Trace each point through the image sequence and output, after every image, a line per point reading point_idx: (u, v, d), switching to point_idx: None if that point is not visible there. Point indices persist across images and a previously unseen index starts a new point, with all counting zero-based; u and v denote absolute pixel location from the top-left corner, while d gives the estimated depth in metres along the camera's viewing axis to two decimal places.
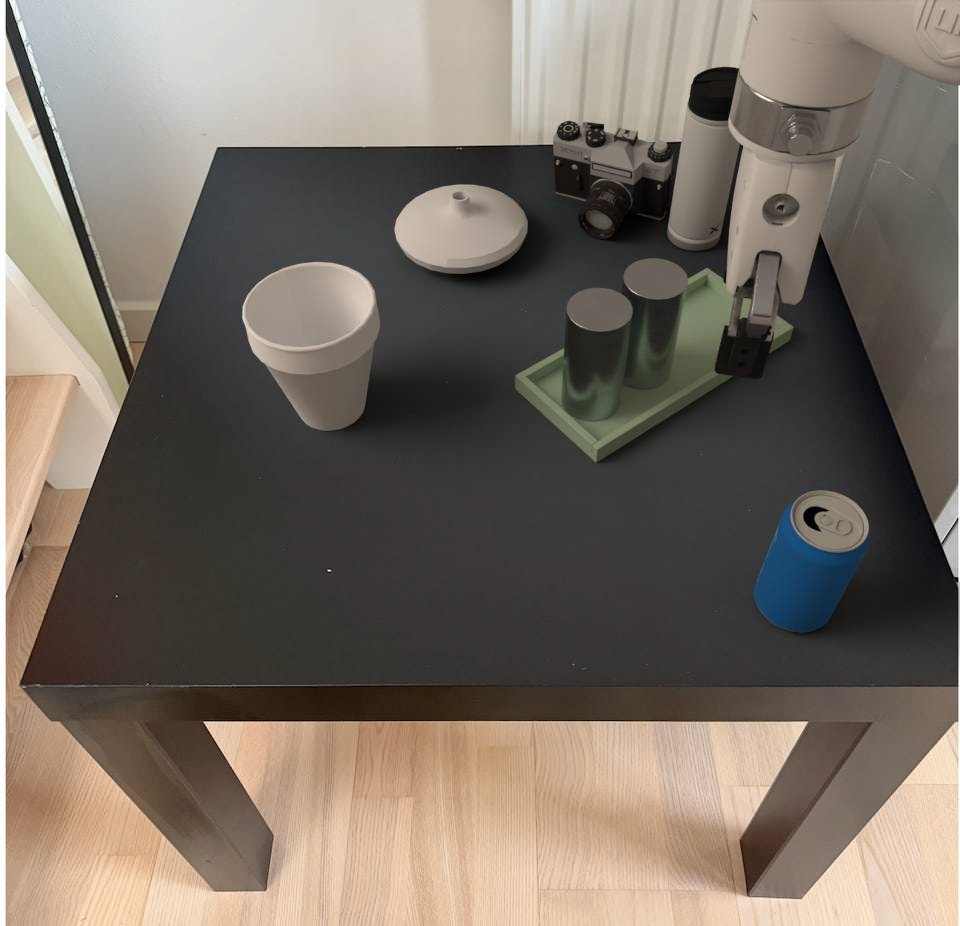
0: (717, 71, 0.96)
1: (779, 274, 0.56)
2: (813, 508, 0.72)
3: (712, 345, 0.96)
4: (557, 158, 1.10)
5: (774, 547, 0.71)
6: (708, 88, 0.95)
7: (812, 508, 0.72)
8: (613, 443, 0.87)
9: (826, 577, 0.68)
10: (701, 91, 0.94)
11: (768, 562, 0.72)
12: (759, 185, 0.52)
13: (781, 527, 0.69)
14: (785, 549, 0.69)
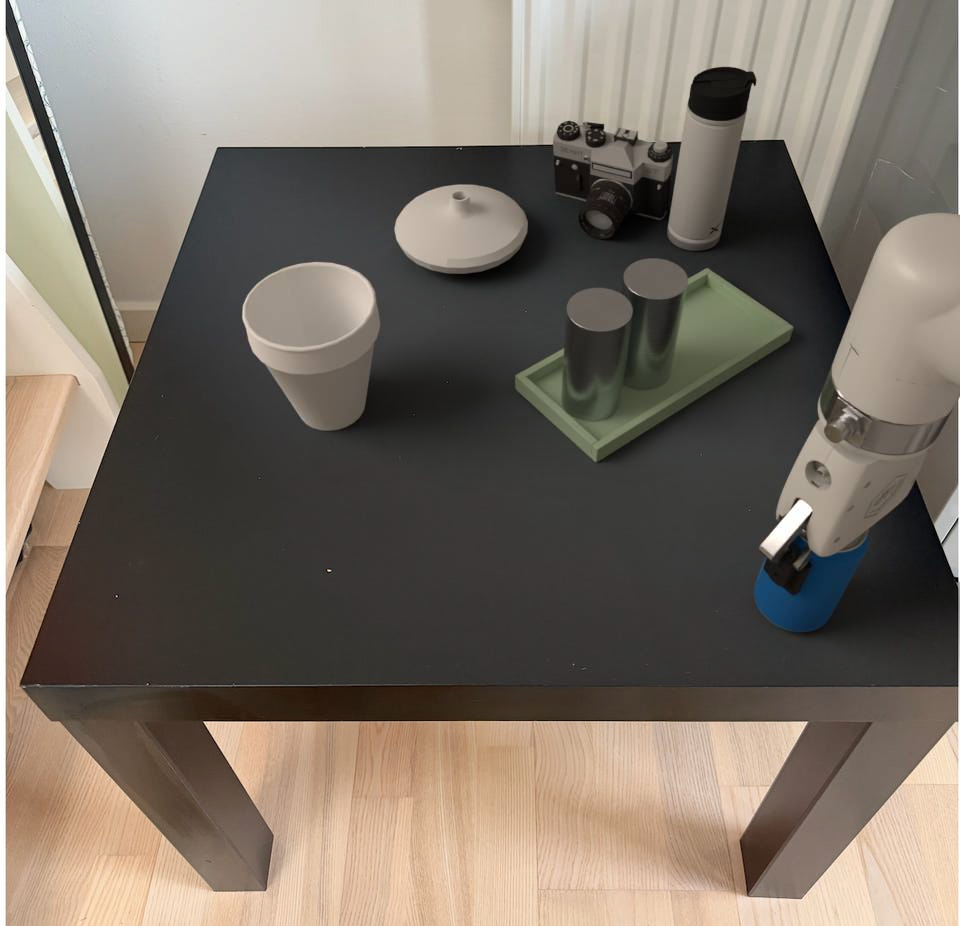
0: (716, 71, 0.96)
1: (808, 524, 0.62)
2: None
3: (712, 345, 0.96)
4: (557, 158, 1.10)
5: None
6: (708, 87, 0.95)
7: None
8: (613, 443, 0.87)
9: (826, 577, 0.68)
10: (701, 91, 0.94)
11: None
12: (809, 446, 0.59)
13: None
14: None
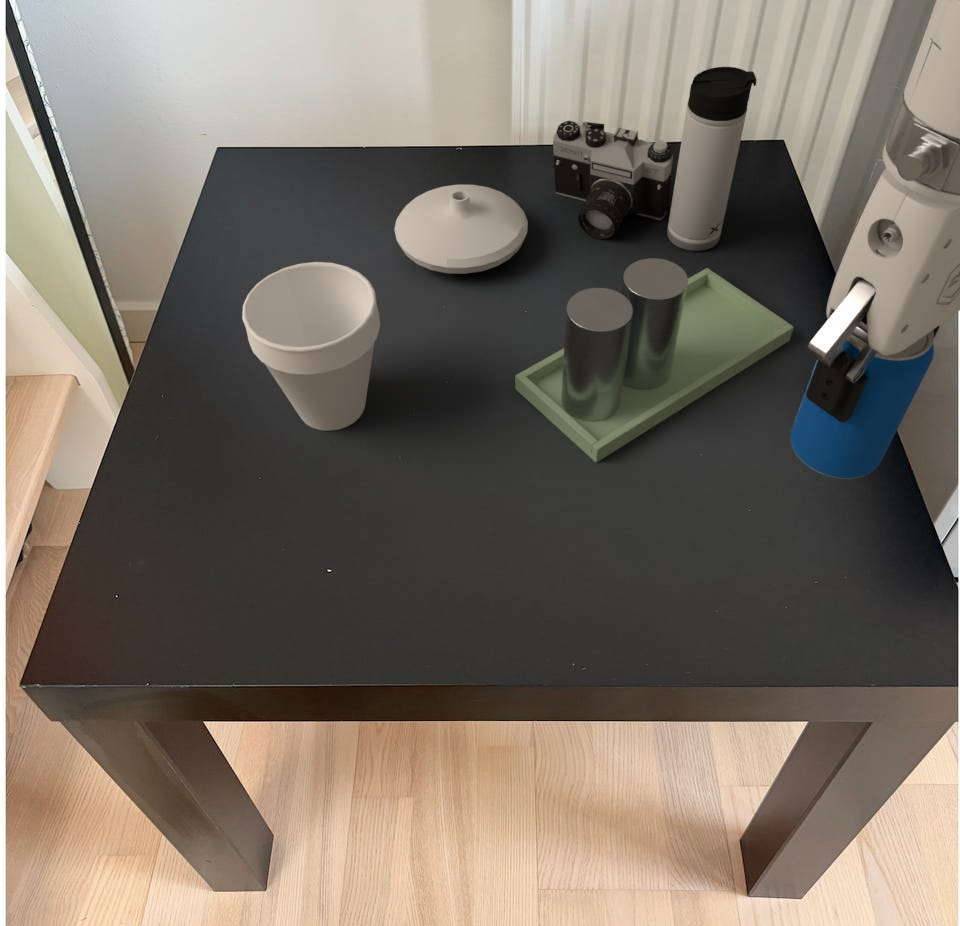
0: (716, 71, 0.96)
1: (870, 311, 0.51)
2: None
3: (712, 345, 0.96)
4: (557, 158, 1.10)
5: None
6: (708, 87, 0.95)
7: None
8: (613, 443, 0.87)
9: (883, 395, 0.57)
10: (701, 91, 0.94)
11: None
12: (873, 203, 0.48)
13: None
14: None
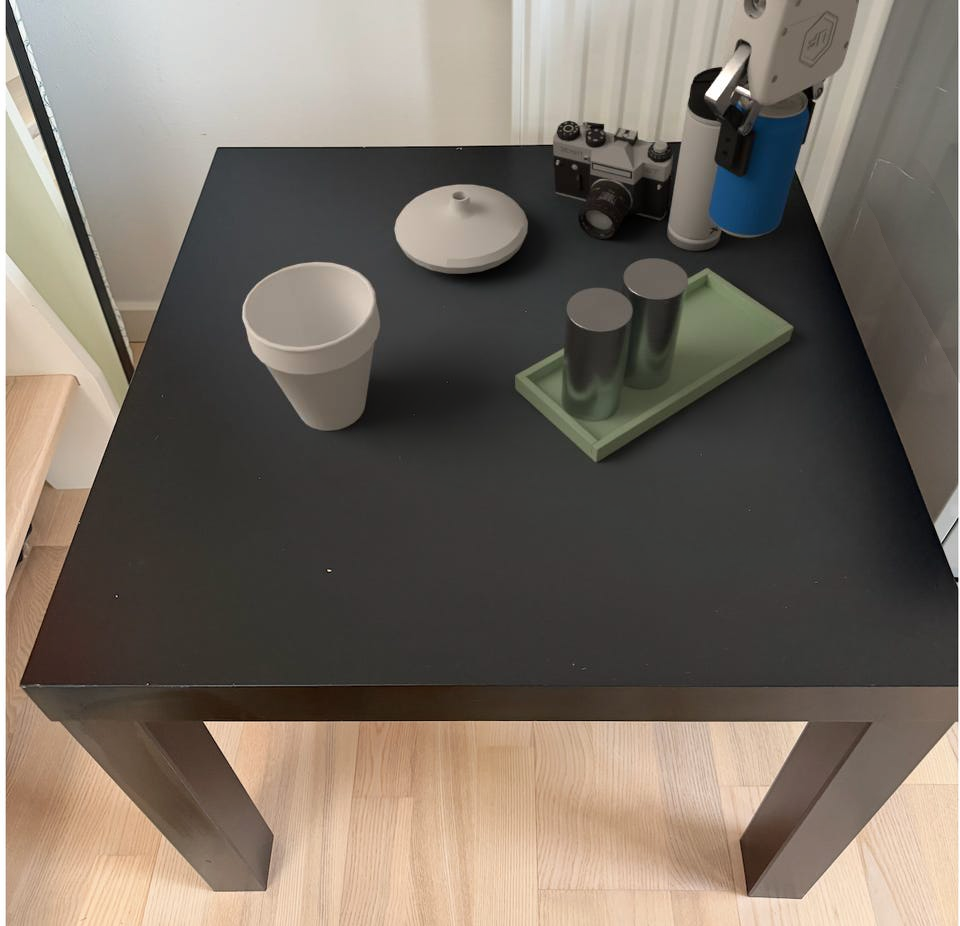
0: (716, 71, 0.96)
1: (748, 66, 0.68)
2: None
3: (712, 345, 0.96)
4: (557, 158, 1.10)
5: None
6: (708, 87, 0.95)
7: None
8: (613, 443, 0.87)
9: (769, 150, 0.74)
10: (701, 91, 0.94)
11: None
12: None
13: None
14: None
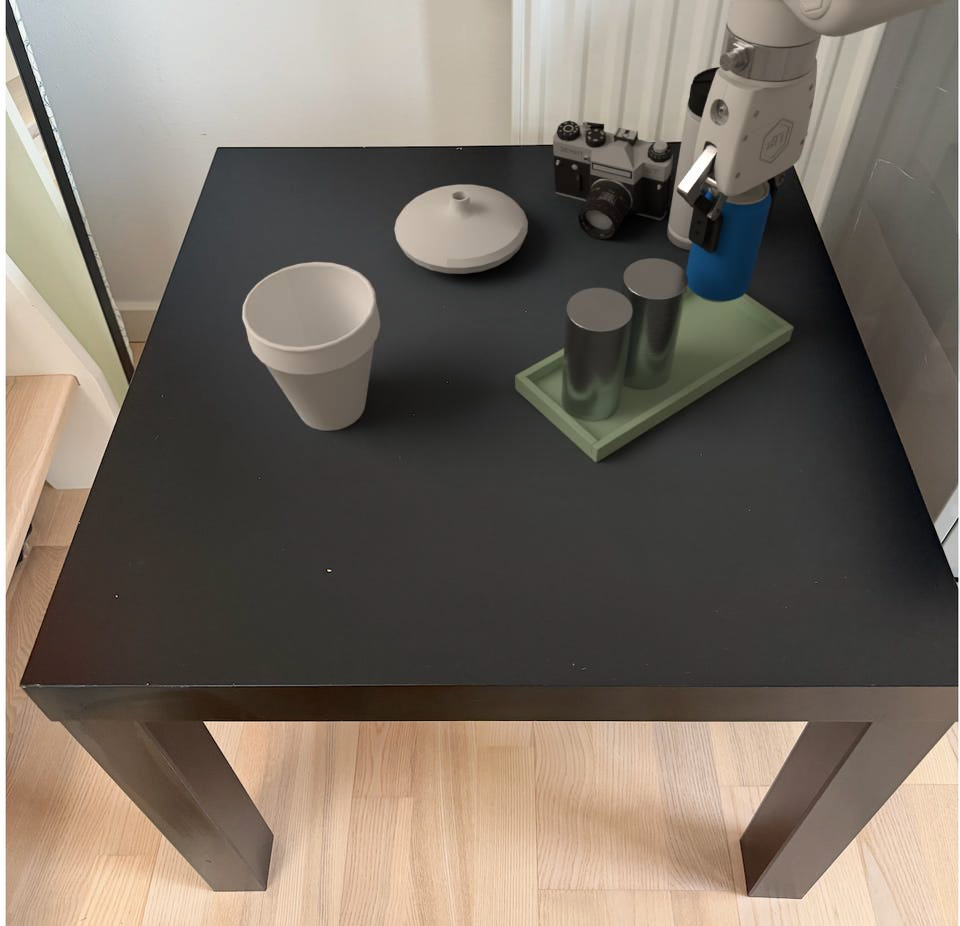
0: None
1: (715, 164, 0.78)
2: None
3: (712, 345, 0.96)
4: (557, 158, 1.10)
5: None
6: (708, 87, 0.95)
7: None
8: (613, 443, 0.87)
9: (736, 231, 0.84)
10: (701, 91, 0.94)
11: None
12: (712, 90, 0.75)
13: None
14: None
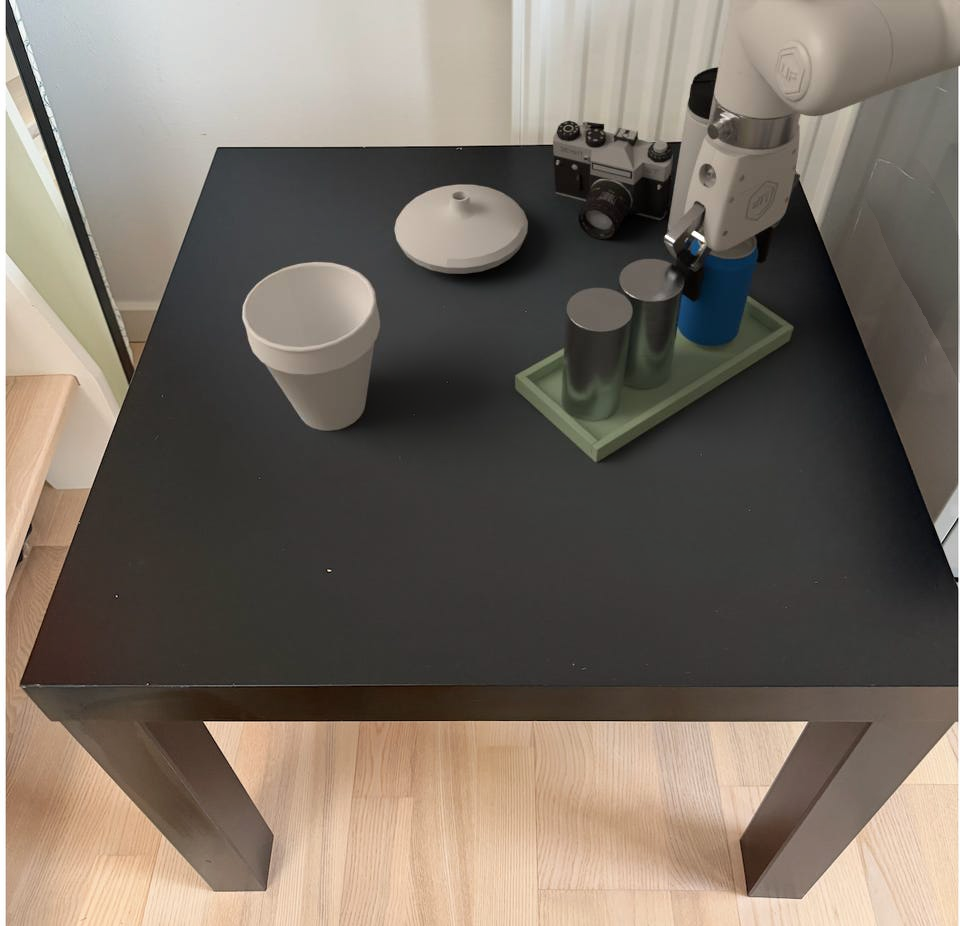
0: (716, 71, 0.96)
1: (704, 222, 0.83)
2: None
3: None
4: (557, 158, 1.10)
5: None
6: (708, 87, 0.95)
7: None
8: (613, 443, 0.87)
9: (724, 283, 0.89)
10: (701, 91, 0.94)
11: None
12: (700, 154, 0.80)
13: (691, 249, 0.90)
14: None
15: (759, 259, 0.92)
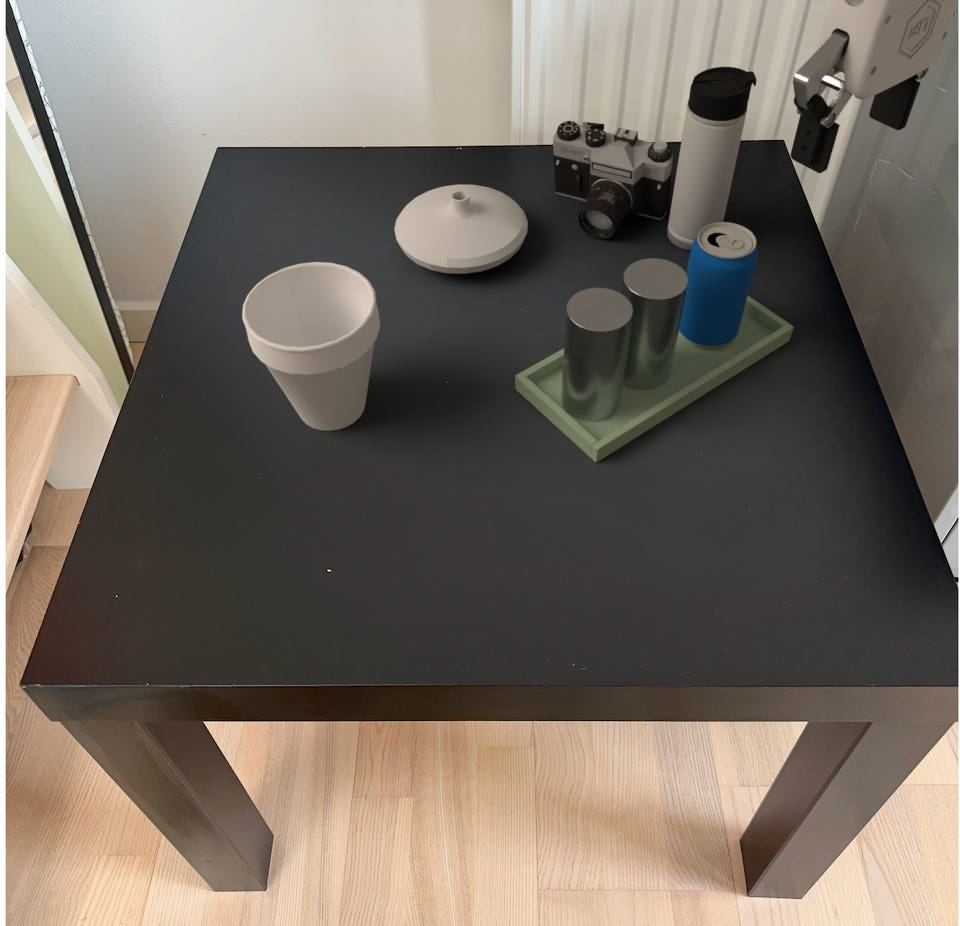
0: (716, 71, 0.96)
1: (845, 57, 0.64)
2: None
3: None
4: (557, 158, 1.10)
5: (687, 270, 0.92)
6: (708, 87, 0.95)
7: (718, 243, 0.93)
8: (613, 443, 0.87)
9: (724, 283, 0.89)
10: (701, 91, 0.94)
11: None
12: None
13: (691, 248, 0.90)
14: (694, 264, 0.89)
15: (898, 124, 0.74)
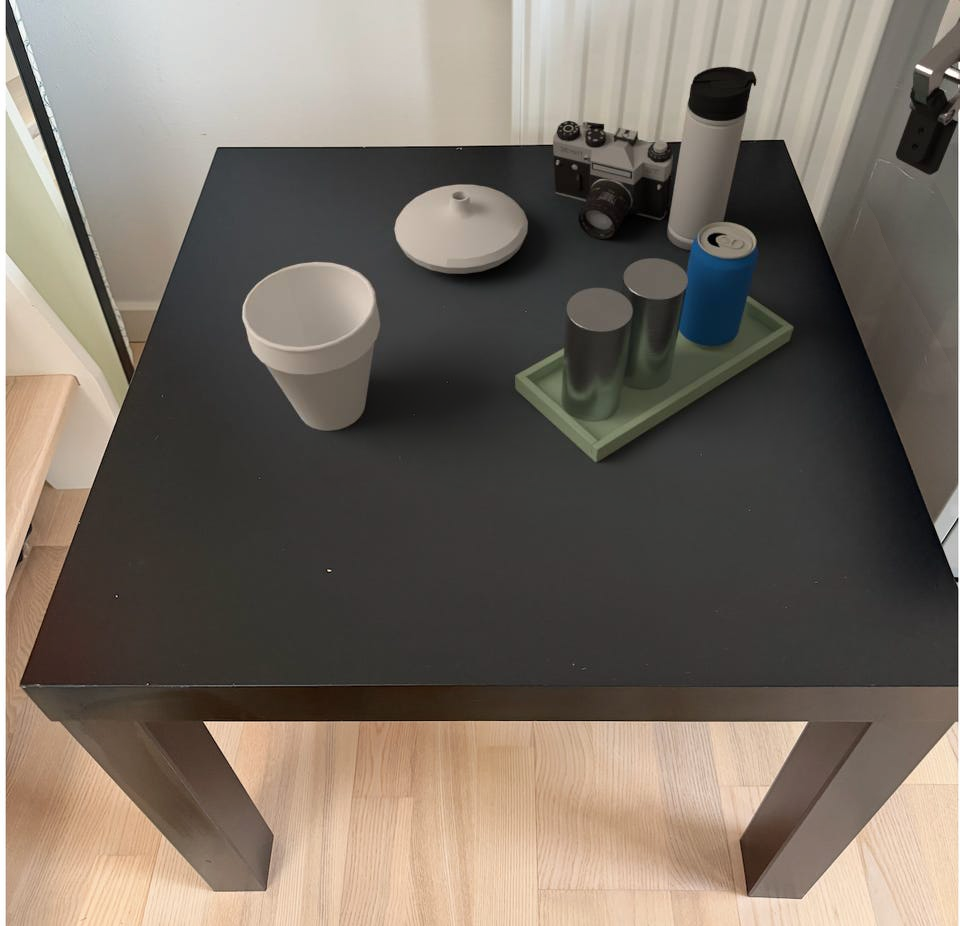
0: (716, 71, 0.96)
1: None
2: None
3: None
4: (557, 158, 1.10)
5: (687, 270, 0.92)
6: (708, 87, 0.95)
7: (718, 243, 0.93)
8: (613, 443, 0.87)
9: (724, 283, 0.89)
10: (701, 91, 0.94)
11: None
12: None
13: (691, 248, 0.90)
14: (694, 264, 0.89)
15: None
